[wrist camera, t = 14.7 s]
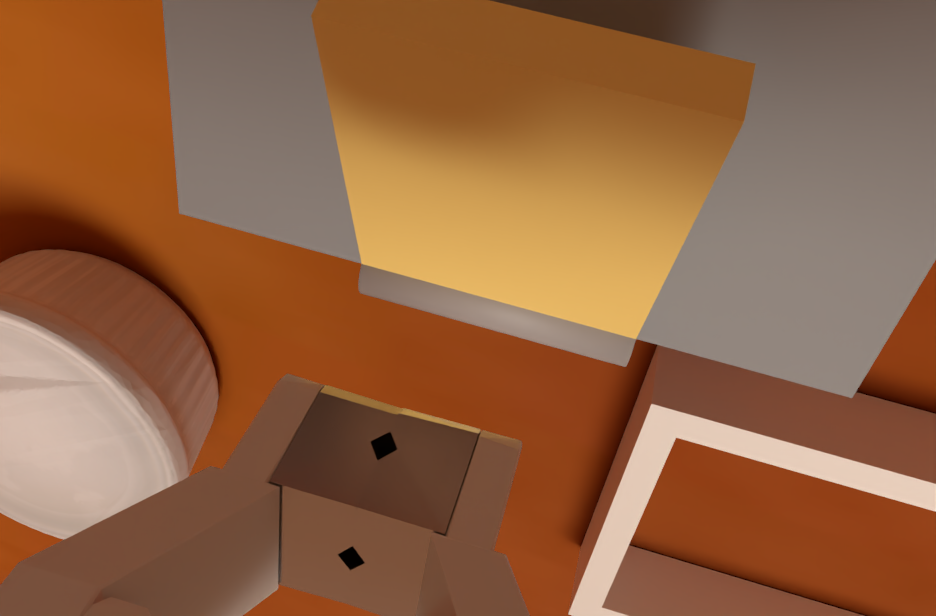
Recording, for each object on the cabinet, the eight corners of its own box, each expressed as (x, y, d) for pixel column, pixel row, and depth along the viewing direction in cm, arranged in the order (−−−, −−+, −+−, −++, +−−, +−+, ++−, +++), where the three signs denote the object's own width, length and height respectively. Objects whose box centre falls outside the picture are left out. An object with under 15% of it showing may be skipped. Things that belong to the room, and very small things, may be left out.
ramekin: (42, 160, 29) (-72, 244, 25) (300, 368, 32) (235, 474, 28) (-58, 321, 36) (-161, 409, 32) (164, 482, 39) (96, 581, 35)
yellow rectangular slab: (756, 60, 12) (739, 143, 11) (634, 319, 20) (621, 376, 19) (337, -39, 12) (302, 34, 12) (381, 251, 20) (361, 303, 20)
